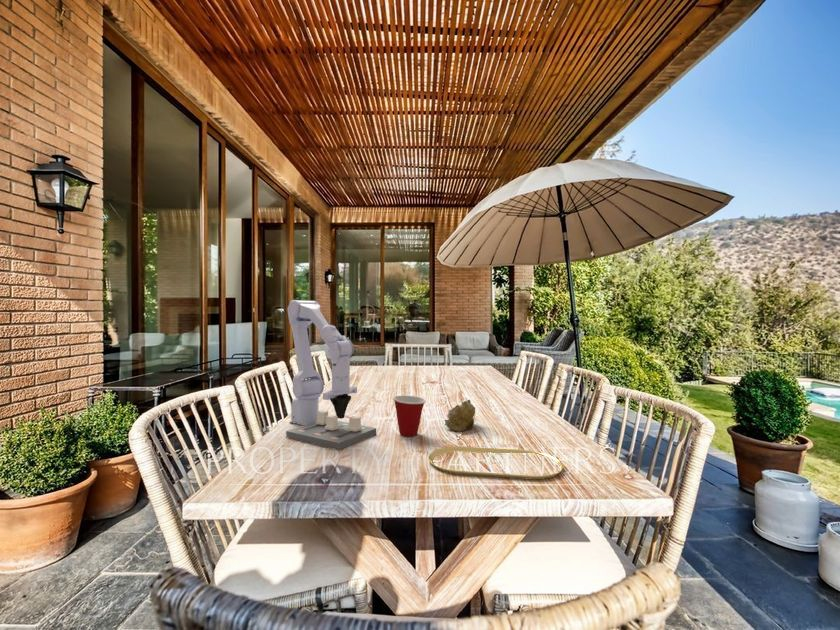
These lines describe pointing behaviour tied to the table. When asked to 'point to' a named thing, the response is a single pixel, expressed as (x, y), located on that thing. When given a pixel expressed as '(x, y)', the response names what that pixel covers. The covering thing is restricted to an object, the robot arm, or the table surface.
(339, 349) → the robot arm
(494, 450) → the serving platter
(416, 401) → the plastic cup
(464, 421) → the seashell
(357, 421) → the right switch
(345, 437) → the switch panel
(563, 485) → the table surface
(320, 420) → the left switch
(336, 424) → the switch
